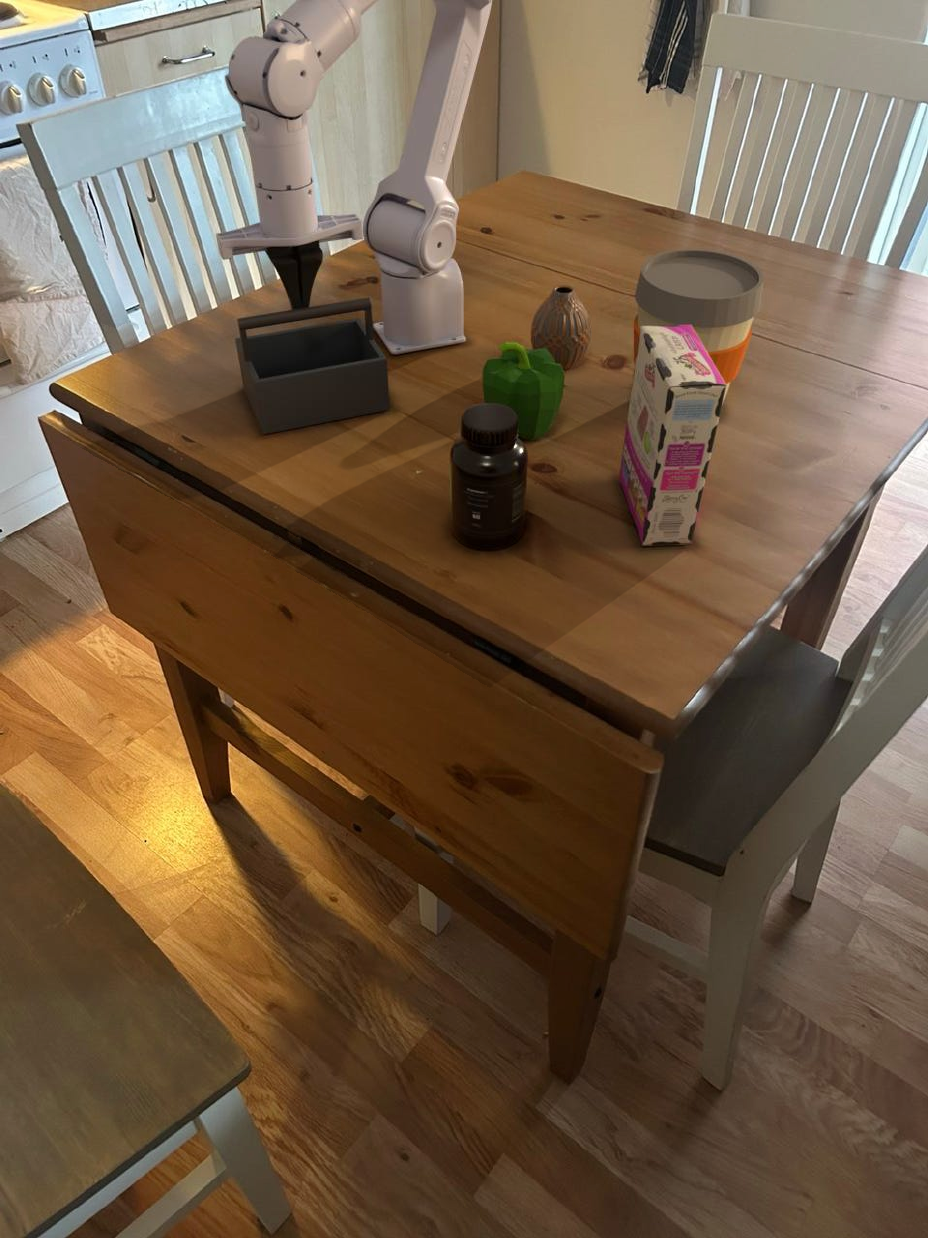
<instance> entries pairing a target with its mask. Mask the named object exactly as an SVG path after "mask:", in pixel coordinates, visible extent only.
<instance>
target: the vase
mask: <svg viewBox="0 0 928 1238" xmlns="http://www.w3.org/2000/svg"><path fill="white" fill-rule="evenodd" d="M591 335H592V325H591V319H590V316H589V313H588V311H587V309H586V307H585V306H584V304H583V303H582V301H581V300H580V299H579V297H578V295H577V293H576V290H575V288H574V287H572V286H571V285H567V284H559V285H556V286H554V287H553V289H552V290H551V292H550V294H549V296H548V297H546V299H545V300H544V301H543V302H542V303H541V304H540V305H539V307H538V308H537V310H536V311H535V314H534V315H533V319H532V321H531V325H530V343H531V348H532V350H535V349H542V348H546V349H547V350H548V351H549V353H550V354H551V355H552V356H553V358H554V360H555V363H557V364H561V366H562V369H563V370H565V369H569V368H572V367H573V366H575V365H576V364H578V363H579V362H580V361H581V360H582V359H583V358H584V356H585V355H586V353H587V351H588V348H589V345H590V341H591V337H592V336H591Z"/></svg>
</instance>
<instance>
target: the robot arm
mask: <svg viewBox="0 0 928 1238" xmlns="http://www.w3.org/2000/svg"><path fill="white" fill-rule="evenodd" d="M379 1H380V0H295V1H294V2H293V3H292V4H291V5H290V6H289V7H288V8H287V9H286V10H285V11H284V12H283V13H282V14H281V15H280V16H279V17H278V18H276V19H275V18H272V19H271V20H270V21H269V22H268V23H267V24H266V27H265V28H266V30H265V31H264V32H263V34H262V35H261V36H257V35H254V36H248V37H245V38H243V39H242V40H241V41H240V42H239V43H238V44H237V45H236V47H235V48H234V50H233V51H232V53H231V55H230V58H229V61H228V74H225V75H224V82H225V85H226V88H227V91H228V92H229V95H230V96H231V97H232V98H233V99H234V101H235V102H236V103H237V104H238V106H239V109H240V114H241V120H242V122H244V125H245V129H246V136H247V143H248V149H249V155H250V163H251V170H252V176H253V183H254V190H255V197H256V203H257V211H258V217H259V222H256V223H252V224H249V225H246V226H242V227H239V228H236V229H232V230H229V231H223V232H218V233H217V232H216V233H215V237H216V242H217V243H216V244H217V249H218V253H219V256H220V257H221V260H223V261H225V260H231V259H233V258H234V256H240V255H247V254H254V253H260V252H265V254H266V256H267V257H268V260H269V261H270V263H271V264H272V266H273V267H274V269H275V271H276V272H277V274H278V277H279V278H280V281H281V282H282V286H283V287H284V289H285V292H286V295H287V298H288V301H289V304H290V307H291V309H290V310H294V309H300V308H306V307H310V305H311V298H312V292H313V287H314V284H315V280H316V277H317V275H318V272H319V270H320V268H321V266H322V264H323V260H324V251H323V250H322V248H321V245H320V244H321V243H327V242H334V241H341V240H347V239H351V240H353V241H358V240H359V241H360V240H364V243H365V244H366V246H367V247H368V248H369V250H370V251H372V252H374V261H375V262H376V263H378V265H379V276H380V277H379V278H380V280H379V281H380V292H381V311H382V321H379V322H375V323H373V330H374V331H375V332H376V334H377V335H378V337H379V338H380V340H381V341H382V343H383V344H384V346H385V347H386V348H387V351H388V352H389V353H390V354H391V355H401V354H406V353H407V354H408V353H412V352H418V351H423V350H428V349H429V350H430V349H433V348H434V349H435V348H440V347H447V346H451V345H457V344H462V343H465V342H466V341H467V339H466V336H465V334H464V333H465V331H464V327H465V326H464V324H465V323H464V322H465V321H464V316H465V315H464V308H465V307H464V302H465V300H464V299H465V298H464V295H465V294H464V293H465V292H464V291H465V290H464V282H463V276H462V273H461V269H460V267H459V265H458V263H457V261H456V260H455V259H454V258H452V257H453V255H454V252H455V248H456V243H457V220H458V216H459V213H460V208H459V205H458V204H457V201H456V200H455V198H454V197H453V195H452V193H451V191H450V190H449V188H448V187H447V179H448V177H449V176H448V175H449V172H450V168H451V164H452V161H453V157H454V153H455V149H456V146H457V142H458V138H459V133H460V130H461V126H462V123H463V119H464V114H465V112H466V111H465V110H466V106H467V103H468V99H469V96H470V91H471V87H472V83H473V81H474V77H475V73H476V68H477V65H478V61H479V57H480V54H481V49H482V45H483V41H484V39H485V34H486V30H487V26H488V23H489V19H490V15H491V10H492V4H493V0H432V3H433V5H434V7H435V16H434V19H433V25H432V29H431V32H430V37H429V40H428V44H427V49H426V52H425V57H424V61H423V65H422V69H421V73H420V77H419V82H418V86H417V90H416V95H415V98H414V103H413V107H412V111H411V116H410V119H409V124H408V128H407V131H406V136H405V140H404V143H403V148H402V152H401V157H400V160H399V165H398V168H397V169H396V170H395V171H394V172H392V173H391V174H389V175H387V176H386V177H385V178H383V179H382V180H380V181H379V182H378V184H377V189H376V193H375V196H374V199H373V200H372V202H371V204H370V205H369V206H368V209H367V211H366V212H365V215H364V218H363V221H362V219H361V218H360V216H358V214H357V213H351V214H326V215H325V214H323V215H321V214H319V215H318V210H317V201H316V190H315V181H314V173H313V172H314V171H313V162H312V153H311V143H310V134H309V123H308V115H307V114H308V113H307V111H309V110H310V109H311V107H312V106H313V104H314V102H315V100H316V97H317V93H318V89H319V88H318V87H319V84H320V82H321V80H323V78H324V74H325V72H327V71H328V69H330V67H332V65H333V64H335V62H336V61H337V60H339V58H340V57H342V55H343V54H344V53H345V52H346V51H347V50H348V49H349V48H350V47H351V46H352V45H353V44H354V43H355V42H356V41H357V40H358V38H359V36H360V34H361V16H363V15H364V14H365V13H366V12H367V11H368V10H370V9H371V8H372V7H373V6H374V5H375V4H376V3H378V2H379ZM411 201H412V202H415V203H418V204H420V205H421V206H422V207H423V208H421V207H418V206H415V205H413V204H410V202H411Z"/></svg>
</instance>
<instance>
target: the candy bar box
mask: <svg viewBox="0 0 928 1238" xmlns="http://www.w3.org/2000/svg"><path fill="white" fill-rule="evenodd" d="M726 386H727V385H726V383H725V381H724V379H723V378H722V376H721V374H720V373H719V371H718V369H717V368H716V366H715V365H714V363H713V361H712V359H711V358H710V356H709V354H708V352H707V351H706V349H705V347H704V346H703V344H702V342H701V340H700V339H699V337H698V335H697V334H696V332H695V330H694V328H693V327H692V325H661V326H641V327H640V337H639V344H638V352H637V358H636V365H635V364H634V372H633V377H632V385H631V391H630V399H629V400H630V401H629V406H628V413H627V420H626V427H625V432H624V439H623V446H622V453H621V461H620V469H619V475H618V481H619V484H620V487H621V489H622V492H623V495H624V498H625V501H626V503H627V506H628V509H629V512H630V515H631V518H632V520H633V522H634V526H635V529H636V531H637V534H638V536H639V537H638V538H639V540H640V543H641V545H642V546H643V547H653V546H655V547H657V546H682V545H683V546H684V545H685V546H686V545H692V543H693V540H694V539H693V538H694V533H695V529H696V524H697V519H698V515H699V512H700V507H701V502H702V498H703V493H704V487H705V483H706V478H707V475H708V474H707V473H708V469H709V464H710V461H711V457H712V451H713V447H714V443H715V439H716V435H717V430H718V425H719V420H720V418H721V417H720V416H721V411H722V407H723V404H724V402H723V398H724V394H725V389H726ZM722 403H723V404H722Z"/></svg>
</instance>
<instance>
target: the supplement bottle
mask: <svg viewBox="0 0 928 1238" xmlns="http://www.w3.org/2000/svg"><path fill="white" fill-rule="evenodd" d="M460 421H461V423H460V424H461V427H460V436H459V437H458V438H457V439H456V440H455V441H454V443H453V444H452V446H451V448H450V451H449V504H450V506H449V508H450V509H449V511H450V512H449V513H450V517H449V518H450V529H451V532H452V534H453V536H454V537H455V538H456V540H458V542H460V543H461V544H463V545H464V546H466V547H468V548H471V549H475V550H480V551H497V550H502V549H504V548H507V547H509V546H512V545H513V544H515V543H516V542H517V541H519V539H520V538H521V536H522V534H523V532H524V530H525V529H524V528H525V520H526V519H525V518H526V502H527V501H526V500H527V483H528V465H529V453H528V450H527V447H526V445H525V444H524V442H523V440H522V439H520V437H519V436H518V417H517V415H516V412H514V410H512V409H511V408H510V407H507V406H505V405H502V404H497V403H485V402H483V403H478V404H473V405H471V406H470V407H467V408H466V410H464V411H463V412H462V414H461V420H460Z"/></svg>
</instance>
